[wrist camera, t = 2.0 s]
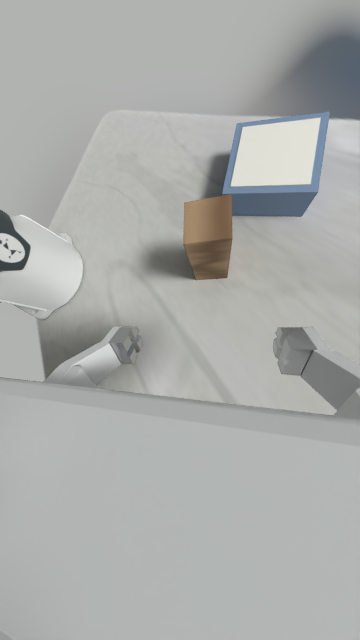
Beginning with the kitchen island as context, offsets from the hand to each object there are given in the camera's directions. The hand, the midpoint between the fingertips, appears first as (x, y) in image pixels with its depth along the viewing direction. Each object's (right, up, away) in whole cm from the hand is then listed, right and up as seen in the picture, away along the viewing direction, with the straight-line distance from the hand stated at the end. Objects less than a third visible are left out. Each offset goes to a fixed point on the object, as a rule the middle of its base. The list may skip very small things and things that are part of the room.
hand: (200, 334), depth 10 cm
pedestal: (+13, +24, +17) cm, 32 cm away
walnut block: (+4, +10, +17) cm, 20 cm away
